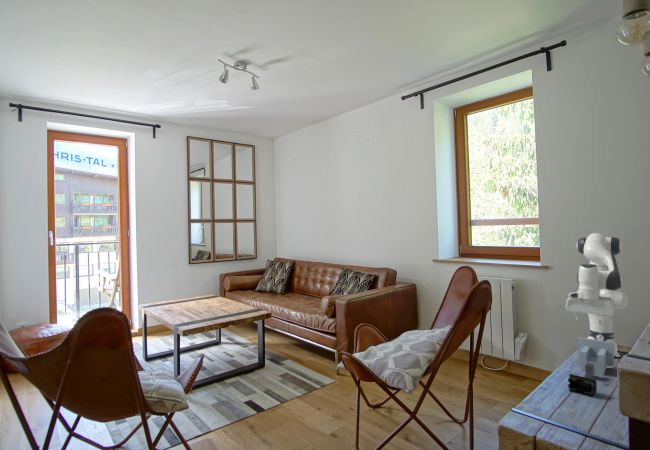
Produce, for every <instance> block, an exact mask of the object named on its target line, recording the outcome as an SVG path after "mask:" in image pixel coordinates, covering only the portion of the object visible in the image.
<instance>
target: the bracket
mask: <svg viewBox="0 0 650 450" xmlns="http://www.w3.org/2000/svg"><path fill="white" fill-rule="evenodd" d="M584 372H585V373H584V377H585V378H590V379H594V378H595V373H594V364H589V363H587V364H586V365H585V371H584Z"/></svg>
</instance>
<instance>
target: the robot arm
mask: <svg viewBox="0 0 650 450" xmlns="http://www.w3.org/2000/svg"><path fill="white" fill-rule="evenodd" d="M576 249H577V251H578V252H579V254H582V255H583V256H584V257H585V259H587V260H589V263H582V264H580V265H579V268H578V269H579V270H578V273H577V274H576V279H577V283H578V284H579V286H578V290H577V291H573V292H569V293H568V297H567V299H566V301H565V310H566V311H567V312H573V315H574V317H575V318H576V321H577V322H581V317H579V315H578V313H579V314H581V313H582V314H587V315H588V316H587V317H588V320H589V329H588V336H587V338H588V339H594V340H601V341H607V342H613V343H614V353H617V351H619V349H618V345H617V344H618V343H617V342H616V341H615V339H614V338H615V335H614V331H613V319H612V317H614V315H615V310H624V309H625V308H626V307H628V302H629V299H628V298H627V296H626V294H625V293H624V292H622V291H621V290H619V289H621V288H622V286H623V278H622V276H621V274H620V270H619V267H618V262H617V260H616V256H617V255H619V254H620V253H621V251H622V249H623V244H622V241H621V240H620V238H618V237H614V236H605V235H604V234H602V233H599V232H593V233H591V234H589V235H588V236H586V237H585V236H583V237H580V238H578V239H577V242H576Z"/></svg>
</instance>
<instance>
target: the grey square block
mask: <svg viewBox="0 0 650 450" xmlns="http://www.w3.org/2000/svg"><path fill="white" fill-rule="evenodd" d="M578 362H580V363H579V364H580V371H581V372H585V365H586V364H587V363H589V364H594V374H595V373H597V375H600V374H604V373H605V374H606V372H605V370H606V367H607V366H613V365H614V366H615V358H614V343H613V342H607V341H601V340H594V339H588V337H580V336H578V337H577V363H578ZM606 371H607V370H606ZM605 374H604V375H605Z"/></svg>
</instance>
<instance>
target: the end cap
mask: <svg viewBox="0 0 650 450" xmlns="http://www.w3.org/2000/svg"><path fill="white" fill-rule="evenodd" d="M568 375H569V376H568V377H569V378H568V379H567V381H568V385H567V387H568V392H570V393H573V394H578V395H581V396H586V397H589V398H593V397H594V396H595V394H597V390H598V383H597V382H598V381H597V380H596V379H594V378H593V379H590V378H585V376H581V375H576V374H572V373H570V374H568Z"/></svg>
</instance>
